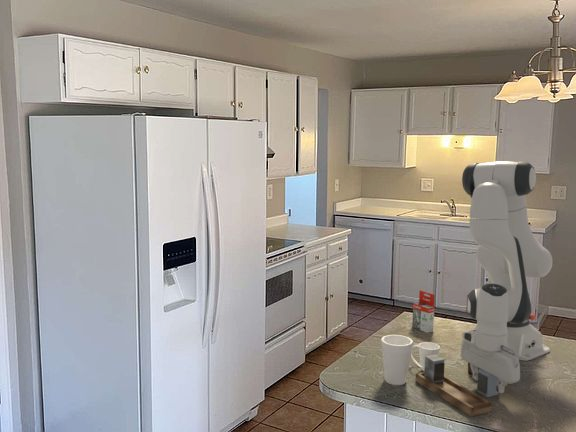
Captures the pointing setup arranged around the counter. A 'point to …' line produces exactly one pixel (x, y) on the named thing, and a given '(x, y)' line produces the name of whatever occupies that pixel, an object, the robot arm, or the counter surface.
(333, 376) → the counter surface
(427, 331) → the ink box
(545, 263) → the robot arm
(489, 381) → the pale grey rounded cube
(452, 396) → the rail
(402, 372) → the foam cup
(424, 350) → the cup
